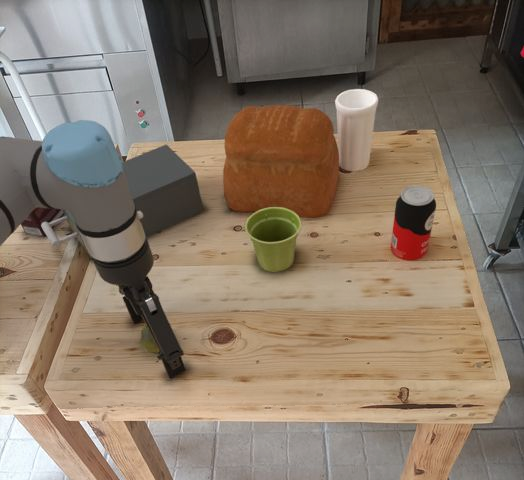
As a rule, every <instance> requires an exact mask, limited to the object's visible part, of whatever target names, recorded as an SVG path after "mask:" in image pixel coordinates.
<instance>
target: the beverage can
mask: <svg viewBox="0 0 524 480" xmlns="http://www.w3.org/2000/svg"><path fill="white" fill-rule="evenodd" d="M436 209H437V202H436V200H435V193H434V191H433V190H432V189H431V188H430V187H428V186H425V185H420V184H414V185H409V186H407V187H405V188H403V189H402V190H401V193H400V195H399V196H398V198H397V199H396V202H395V207H394V217H393V223H392V231H391V240H390V250H391V253H392V254H393V255H394V256H395V257H397V258H398V259H401V260H403V261H417V260H419V259H421V258H423V257H425V255H426V254H427V252H428V249H429V245H430V240H431V234H432V229H433V226H434V225H433V224H434V219H435V215H436V214H435V213H436Z"/></svg>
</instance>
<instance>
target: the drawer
mask: <svg viewBox="0 0 524 480" xmlns="http://www.w3.org/2000/svg"><path fill="white" fill-rule="evenodd" d="M62 210H63V212H64V216H63V217H62V218H59V219H57V220H55V221H52V222H50V223H48V222H43V223H42V224H41V227H42V229H43V230H44V232H45V234H46V237H47V238H48V240H49V243H50V244H51V246H52V248H54V249H58V248H60V247H61V246H62V244H63V243H65V242H68V241H70V240H72V239H75V238H76V239H77V240H78V242H79V243H80V245H81V246H82V248H83V250H84V251H85V253H86V254H87V256H88V257H89V259H90V260H92V257H91V255H90V254H89V253H88V250H87V248H86V246H85V244H84V242H83V240H82V237H81V235H80V233H79V231H78V229H77V225H76V223H75V221H74V219H73V217H72V215H71V213H70V211H68V210H64V209H62ZM66 221H67V223H68V226H69V228H70V229H71V231H72V232H73V233H71V234H68V235H66V236H63V237H61V238H59V237H58V236H57V234H56V233H55V231H54V230H53V229H54V228H53V229H52V228H51V227H52V226H54V225H55V226H57V225H59V224H61V223H63V222H66ZM55 226H54V227H55Z"/></svg>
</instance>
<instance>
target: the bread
mask: <svg viewBox="0 0 524 480" xmlns="http://www.w3.org/2000/svg"><path fill="white" fill-rule="evenodd" d="M334 133H335V130H334V124H333V121H332V119H331V118H330V116H329V115H327V114H326V113H325V112H324V111H323V110H321V109H319V108H316V107H311V108H309V107H308V108H305V107H301V106H295V105H285V104H272V105H268V106H267V105H266V106H254V105H250V106H247V107H244V108H242V109H241V110H239V111H238V112H237V113H236V114H235V115H234V117H232V119H231V120H230V122H229V124H228V126H227V128H226V132H225V135H224V151H225V160H224V164H223V165H224V166H223V170H222V182H223V183H222V184H223V195H224V199H225V202H226V205H227V206H228V207H229V208H230V209H231V210H233V211H235V212H240V213H255V212H257V211H259V210H261V209H264V208H269V207H282V208H286V209H289V210H291V211H293V212H295V213H296V214H297V215H298V216H299V217H302V218H319V217H322V216H324V215H327V214H328V212H329V211H330V210H331V209H332V205H333V202H334V198H335V194H336V191H337V185H338V182H339V176H340V175H339V174H340V165H339V152H338V142H337V140H336V137H335V134H334Z"/></svg>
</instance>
